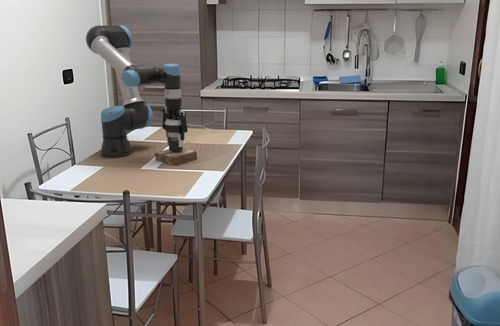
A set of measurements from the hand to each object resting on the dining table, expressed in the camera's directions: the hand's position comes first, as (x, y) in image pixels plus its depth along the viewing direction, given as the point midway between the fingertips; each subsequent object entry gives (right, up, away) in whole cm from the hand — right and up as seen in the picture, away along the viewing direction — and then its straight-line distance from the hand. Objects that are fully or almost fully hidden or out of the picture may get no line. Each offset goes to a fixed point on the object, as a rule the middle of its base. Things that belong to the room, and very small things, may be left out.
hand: (175, 145), depth 234 cm
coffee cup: (0, -2, +1) cm, 2 cm away
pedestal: (0, -7, +2) cm, 7 cm away
